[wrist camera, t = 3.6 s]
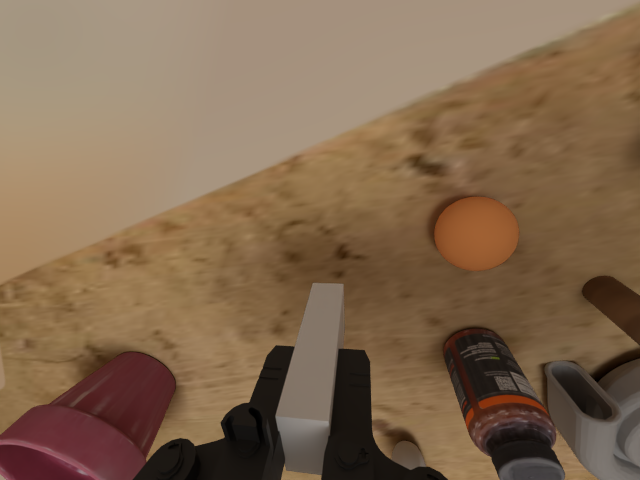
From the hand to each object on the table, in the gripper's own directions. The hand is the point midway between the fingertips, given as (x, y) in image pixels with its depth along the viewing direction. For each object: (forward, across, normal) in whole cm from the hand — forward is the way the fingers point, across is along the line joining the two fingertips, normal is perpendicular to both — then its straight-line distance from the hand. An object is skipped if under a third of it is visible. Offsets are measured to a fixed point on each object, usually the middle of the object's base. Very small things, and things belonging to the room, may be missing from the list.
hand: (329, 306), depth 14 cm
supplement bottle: (+12, -13, +14) cm, 23 cm away
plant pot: (+13, +28, +23) cm, 39 cm away
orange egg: (+9, -10, 0) cm, 14 cm away
